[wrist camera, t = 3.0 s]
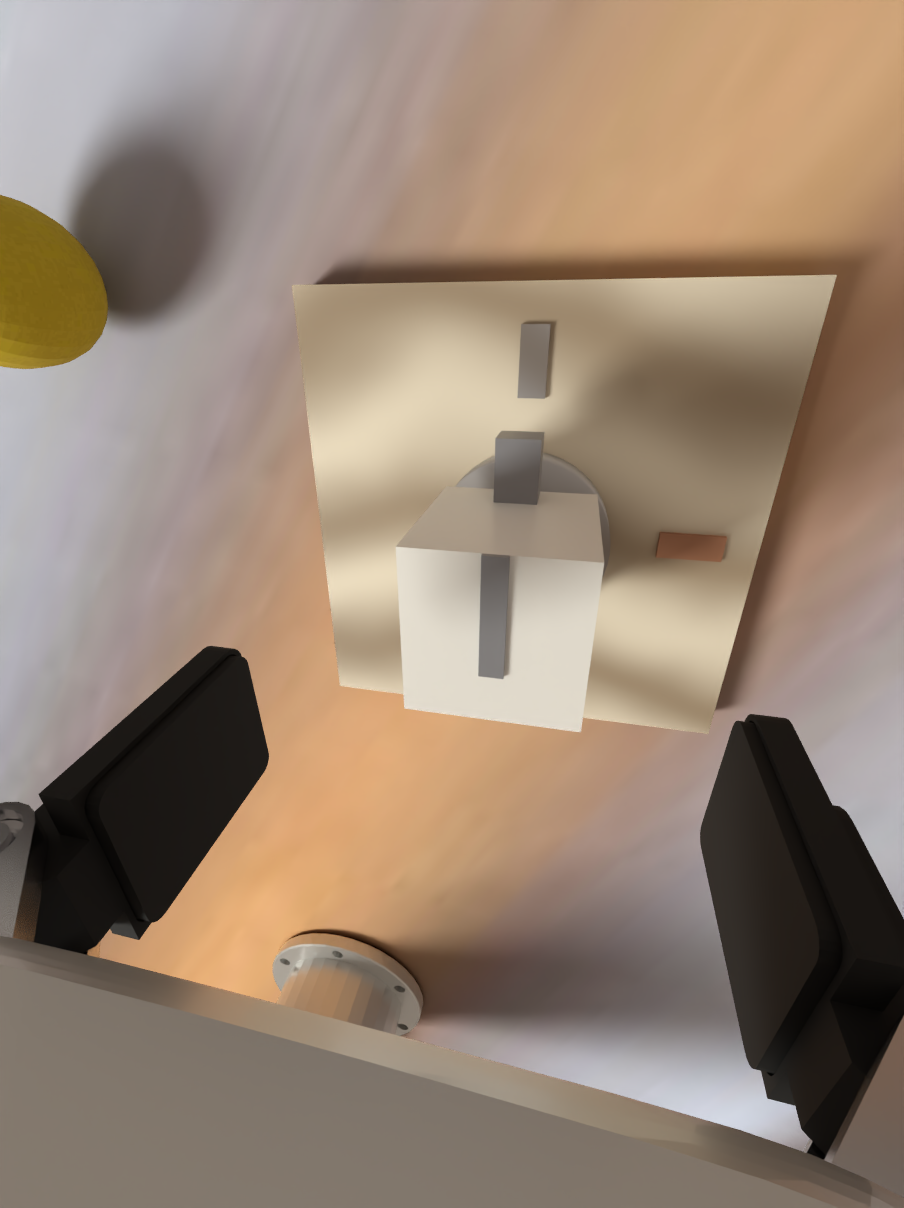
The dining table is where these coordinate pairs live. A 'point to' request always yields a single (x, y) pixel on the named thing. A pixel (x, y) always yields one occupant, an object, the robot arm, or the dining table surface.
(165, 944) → the dining table surface
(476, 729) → the dining table surface
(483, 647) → the white box
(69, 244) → the lemon
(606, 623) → the base
